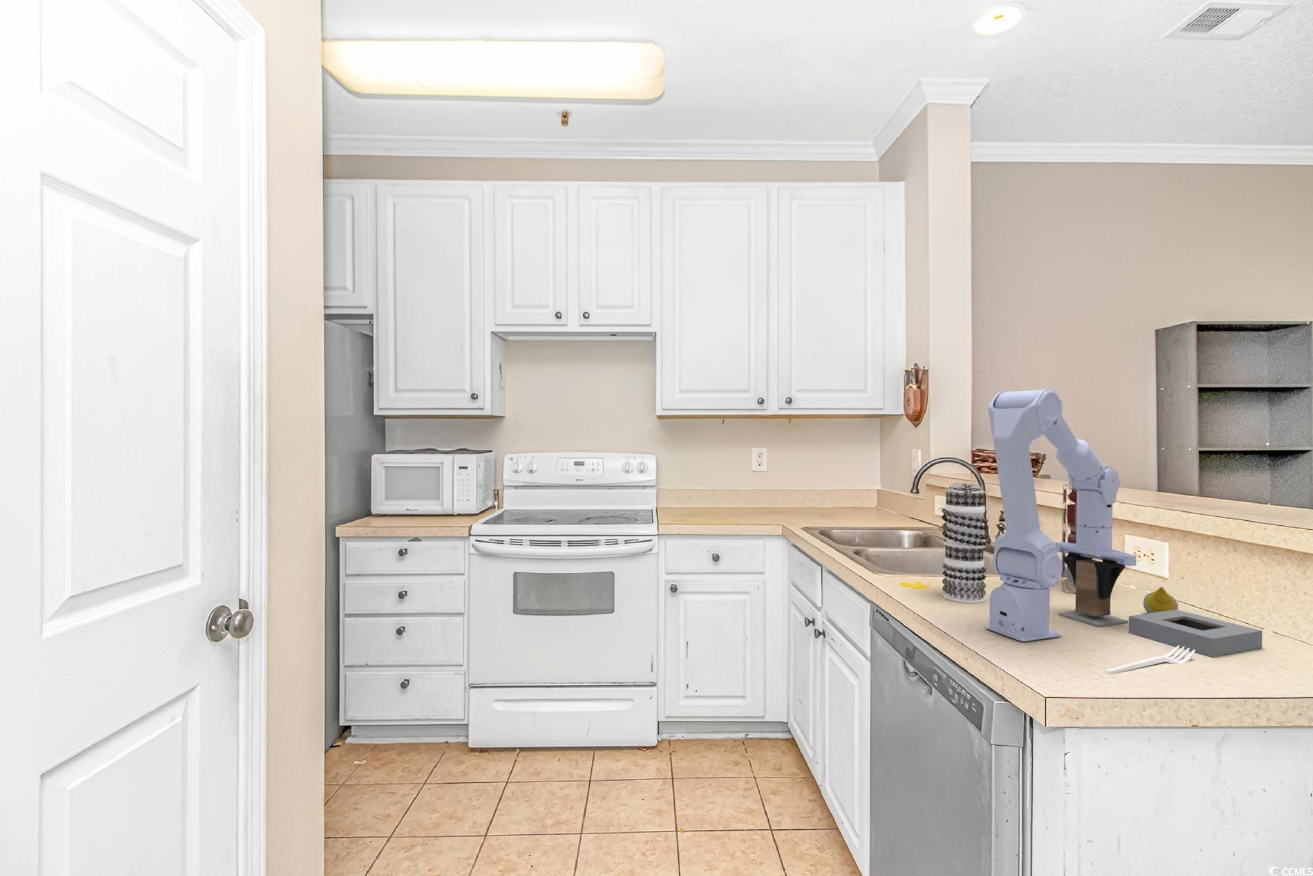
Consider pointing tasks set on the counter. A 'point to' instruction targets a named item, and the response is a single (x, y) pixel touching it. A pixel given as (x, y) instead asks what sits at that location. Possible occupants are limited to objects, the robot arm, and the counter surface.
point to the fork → (1154, 661)
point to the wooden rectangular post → (1089, 590)
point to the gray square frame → (1196, 632)
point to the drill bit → (1159, 601)
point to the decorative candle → (964, 543)
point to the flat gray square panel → (1094, 619)
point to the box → (1072, 525)
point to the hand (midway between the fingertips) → (1093, 595)
